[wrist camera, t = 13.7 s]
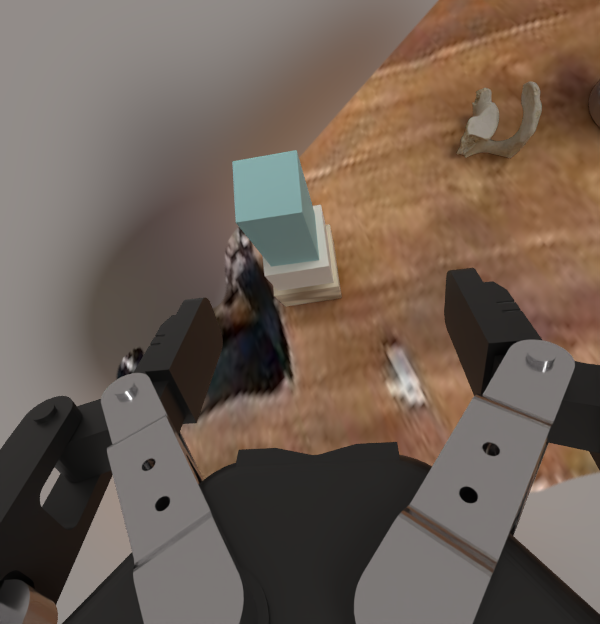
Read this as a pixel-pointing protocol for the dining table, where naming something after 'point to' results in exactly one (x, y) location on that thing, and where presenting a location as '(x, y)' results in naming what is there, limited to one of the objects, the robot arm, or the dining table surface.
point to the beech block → (317, 291)
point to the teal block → (276, 208)
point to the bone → (487, 122)
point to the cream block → (304, 264)
